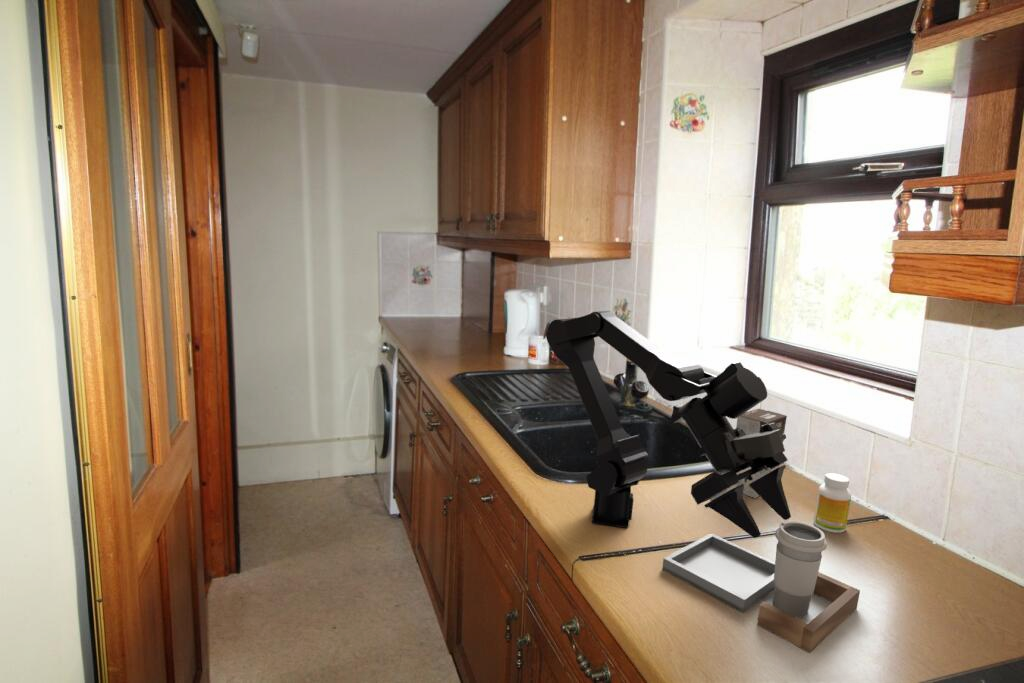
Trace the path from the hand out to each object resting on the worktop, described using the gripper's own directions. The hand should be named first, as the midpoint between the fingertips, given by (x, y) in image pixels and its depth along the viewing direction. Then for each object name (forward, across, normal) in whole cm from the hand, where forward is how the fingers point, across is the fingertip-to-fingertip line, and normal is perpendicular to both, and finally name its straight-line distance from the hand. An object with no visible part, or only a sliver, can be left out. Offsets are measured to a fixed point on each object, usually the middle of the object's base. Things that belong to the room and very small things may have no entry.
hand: (773, 527), depth 92 cm
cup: (+10, 0, +5) cm, 12 cm away
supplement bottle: (+5, +31, +10) cm, 33 cm away
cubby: (+12, 0, +3) cm, 13 cm away
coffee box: (-7, +35, +22) cm, 42 cm away
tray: (+3, 0, +12) cm, 13 cm away
